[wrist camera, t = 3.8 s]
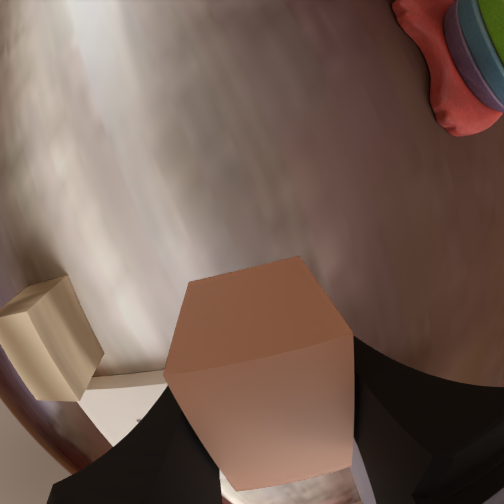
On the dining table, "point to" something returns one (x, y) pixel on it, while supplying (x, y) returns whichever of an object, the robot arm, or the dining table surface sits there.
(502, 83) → the stacking bear
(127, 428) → the tower plate
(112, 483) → the robot arm
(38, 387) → the birch brick
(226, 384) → the terracotta brick
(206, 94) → the dining table surface
